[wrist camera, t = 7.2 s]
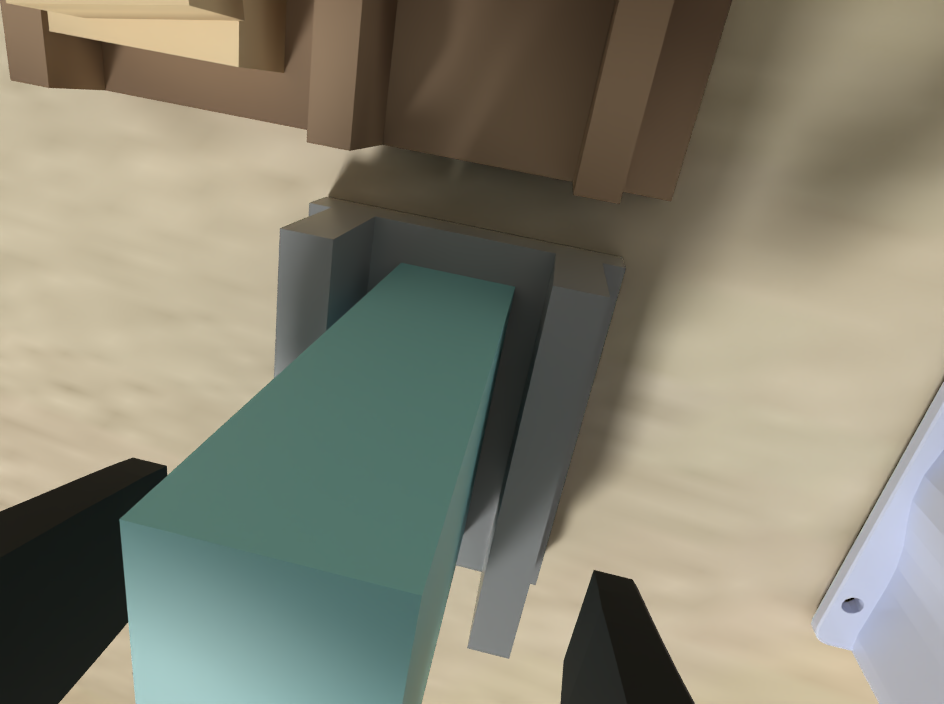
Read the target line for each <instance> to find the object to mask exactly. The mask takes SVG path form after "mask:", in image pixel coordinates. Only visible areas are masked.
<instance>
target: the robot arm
mask: <svg viewBox="0 0 944 704" xmlns="http://www.w3.org/2000/svg"><path fill="white" fill-rule="evenodd" d="M166 476H167V466H165V465H161V464H157V463H153V462H149V461H145V460H140V459H136V458H131V459H128V460H125V461H122V462H119V463H117V464H114V465H112V466H109V467H106V468H104V469H101V470H99V471H96V472H94V473H92V474H89V475H87V476H84V477H82V478H80V479H77V480H75V481H72V482H70V483H68V484H65V485H63V486H60V487H58V488H56V489H53V490H51V491H49V492H46V493H44V494H41V495H39V496H37V497H34V498H32V499H29V500H27V501H25V502H22V503H20V504H17V505H15V506H13V507H10V508H8V509H5V510H3V511H0V704H58V703H59V702H60V701H61V700H62V699H63V698H64V696H65V695H66V694H67V693H68V692H69V691H70V690H71V688H72V687H73V686H74V685H75V684H76V683H77V681H78V680H79V679H80V678H81V677H82V676H83V675H84V673H85V672H86V671H87V670H88V669H89V668H90V666H91V665H92V664H93V663H94V662H95V661H96V659H97V658H98V657H99V656H100V655H101V654H102V652H103V651H104V650H105V649H106V648H107V647H108V645H109V644H110V643H111V642H112V641H113V639H114V638H115V637H116V636H117V635H118V634H119V632H120V631H121V630H122V629H123V628H124V626H125V625H126V624H127V623H128V611H127V600H126V588H125V577H124V566H123V554H122V543H121V532H120V521H119V519H120V518H121V517H122V516H124V515H125V514H126V513H127V512H128V511H129V510H130V509H131V508H132V507H133V506H135V505H136V504H137V503H138V502H139V501H140V500H141V499H142V498H143V497H144V496H146V495H147V494H148V493H149V492H150V491H151V490H152V489H153V488H154V487H155V486H157V485H158V484H159V483H160V482H161V481H162V480H163V479H164V478H165V477H166ZM849 598H854V599H853V600H851V601H848V602H844V601H845V600H846V599H849ZM811 625H812V628H813V630H814V633H815V635H816V637H817V638H818V639H819V640H820V641H821V642H822V643H825V644H827V645H830V646H835V647H839V648H843V649H847V650H851V651H852V653H853V654H854V656H855V658H856V660H857V662H858V664H859V666H860V668H861V670H862V672H863V674H864V676H865V677H866V679H867V681H868V683H869V685H870V687H871V689H872V691H873V693H874V695H875V697H876V698H877V700H878V702H879V704H944V382H943V383H942V385H941V387H940V389H939V391H938V393H937V394H936V396H935V398H934V400H933V402H932V403H931V405H930V407H929V409H928V411H927V412H926V414H925V416H924V418H923V420H922V421H921V423H920V425H919V427H918V429H917V430H916V432H915V434H914V436H913V438H912V439H911V441H910V443H909V445H908V447H907V448H906V450H905V452H904V454H903V456H902V457H901V459H900V461H899V463H898V465H897V466H896V468H895V470H894V472H893V474H892V476H891V477H890V479H889V481H888V483H887V485H886V486H885V488H884V490H883V492H882V494H881V495H880V497H879V499H878V501H877V503H876V504H875V506H874V508H873V510H872V512H871V513H870V515H869V517H868V519H867V521H866V522H865V524H864V526H863V528H862V530H861V531H860V533H859V535H858V537H857V539H856V540H855V542H854V544H853V546H852V548H851V550H850V551H849V553H848V555H847V557H846V559H845V560H844V562H843V564H842V566H841V568H840V569H839V571H838V573H837V575H836V577H835V578H834V580H833V582H832V584H831V586H830V587H829V589H828V591H827V593H826V595H825V596H824V598H823V600H822V602H821V604H820V605H819V607H818V609H817V611H816V613H815V614H814V616H813V618H812V622H811ZM561 704H695V703H694V701H693V699H692V697H691V696H690V694H689V692H688V690H687V688H686V686H685V684H684V683H683V681H682V679H681V677H680V675H679V673H678V671H677V669H676V667H675V665H674V663H673V661H672V659H671V657H670V655H669V653H668V651H667V649H666V647H665V645H664V643H663V641H662V639H661V637H660V635H659V633H658V631H657V629H656V626H655V624H654V622H653V620H652V618H651V616H650V614H649V612H648V609H647V607H646V605H645V603H644V601H643V599H642V597H641V594H640V592H639V590H638V588H637V586H636V584H635V583H634V581H633V580H632V579H628V578H624V577H620V576H616V575H612V574H608V573H604V572H600V571H596V570H594V571H593V574H592V577H591V580H590V583H589V586H588V589H587V592H586V595H585V598H584V601H583V604H582V607H581V610H580V613H579V616H578V619H577V622H576V625H575V628H574V631H573V634H572V637H571V640H570V643H569V646H568V649H567V652H566V655H565V658H564V664H563V678H562V691H561Z"/></svg>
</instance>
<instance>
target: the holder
mask: <svg viewBox="0 0 944 704" xmlns="http://www.w3.org/2000/svg"><path fill="white" fill-rule="evenodd" d="M400 263H405V264H410V265H415V266H419V267H424V268H429V269H434V270H438V271H443V272H448V273H453V274H457V275H462V276H467V277H471V278H476V279H481V280H486V281H490V282H495V283H500V284H505V285H509V286H514V287H515V291H514V296H513V300H512V305H511V310H510V315H509V320H508V324H507V329H506V334H505V339H504V343H503V348H502V353H501V358H500V362H499V367H498V372H497V377H496V381H495V386H494V391H493V396H492V401H491V405H490V410H489V415H488V420H487V424H486V429H485V434H484V439H483V443H482V448H481V453H480V458H479V463H478V467H477V472H476V477H475V482H474V486H473V491H472V496H471V501H470V505H469V510H468V515H467V520H466V524H465V529H464V534H463V538H462V542H461V546H460V550H459V554H458V558H457V562H456V565H457V566H461V567H465V568H469V569H473V570H477V571H481V572H482V573H481V578H480V584H479V589H478V594H477V599H476V605H475V610H474V615H473V621H472V626H471V631H470V637H469V642H468V647H467V648H469V649H473V650H477V651H481V652H485V653H488V654H492V655H496V656H500V657H504V658H508V659H509V657H510V653H511V650H512V646H513V643H514V639H515V635H516V632H517V628H518V625H519V621H520V618H521V614H522V610H523V607H524V603H525V600H526V596H527V593H528V589H529V585H530V584H533V585H536V582H537V578H538V575H539V571H540V568H541V564H542V561H543V557H544V554H545V550H546V547H547V543H548V539H549V536H550V532H551V529H552V525H553V522H554V518H555V515H556V511H557V508H558V504H559V501H560V497H561V494H562V490H563V487H564V483H565V480H566V476H567V473H568V469H569V466H570V462H571V459H572V455H573V452H574V448H575V445H576V441H577V438H578V434H579V431H580V427H581V424H582V420H583V417H584V413H585V410H586V406H587V403H588V399H589V396H590V392H591V389H592V385H593V382H594V378H595V375H596V371H597V368H598V364H599V361H600V357H601V354H602V350H603V347H604V343H605V340H606V336H607V333H608V329H609V326H610V322H611V319H612V315H613V312H614V308H615V305H616V301H617V298H618V294H619V291H620V287H621V284H622V280H623V276H624V273H625V269H626V267H625V264H624V261H623V258H622V257H619V256H614V255H609V254H604V253H599V252H594V251H590V250H585V249H580V248H575V247H570V246H565V245H560V244H555V243H550V242H546V241H541V240H536V239H531V238H526V237H521V236H516V235H511V234H506V233H501V232H497V231H492V230H487V229H482V228H477V227H472V226H467V225H462V224H457V223H453V222H448V221H443V220H438V219H433V218H428V217H423V216H418V215H413V214H409V213H404V212H399V211H394V210H389V209H384V208H379V207H374V206H369V205H365V204H360V203H355V202H350V201H345V200H340V199H335V198H330V197H325V198H322V199H319V200H316V201H313V202H311V203H309V217H307V218H304V219H302V220H299V221H297V222H294V223H292V224H289V225H287V226H285V227H282V228H280V242H279V267H278V293H277V318H276V343H275V368H274V378H275V377H276V376H277V375H278V374H280V373H281V372H282V371H283V370H284V369H285V368H286V367H287V366H288V365H289V364H290V363H292V362H293V361H294V360H295V359H296V358H297V357H298V356H299V355H300V354H301V353H303V352H304V351H305V350H306V349H307V348H308V347H309V346H310V345H311V344H312V343H314V342H315V341H316V340H317V339H318V338H319V337H320V336H321V335H322V334H323V333H325V332H326V331H327V330H328V329H329V328H330V327H331V326H332V325H333V324H334V323H336V322H337V321H338V320H339V319H340V318H341V317H342V316H343V315H344V314H345V313H347V312H348V311H349V310H350V309H351V308H352V307H353V306H354V305H355V304H356V303H357V302H359V301H360V300H361V299H362V298H363V297H364V296H365V295H366V294H367V293H368V292H370V291H371V290H372V289H373V288H374V287H375V286H376V285H377V284H378V283H379V282H381V281H382V280H383V279H384V278H385V277H386V276H387V275H388V274H389V273H390V272H392V271H393V270H394V269H395V268H396V267H397V266H398V265H399V264H400Z"/></svg>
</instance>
